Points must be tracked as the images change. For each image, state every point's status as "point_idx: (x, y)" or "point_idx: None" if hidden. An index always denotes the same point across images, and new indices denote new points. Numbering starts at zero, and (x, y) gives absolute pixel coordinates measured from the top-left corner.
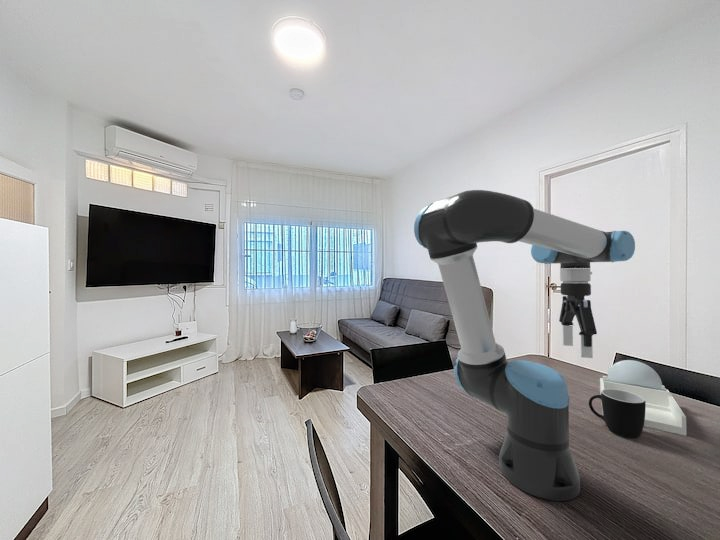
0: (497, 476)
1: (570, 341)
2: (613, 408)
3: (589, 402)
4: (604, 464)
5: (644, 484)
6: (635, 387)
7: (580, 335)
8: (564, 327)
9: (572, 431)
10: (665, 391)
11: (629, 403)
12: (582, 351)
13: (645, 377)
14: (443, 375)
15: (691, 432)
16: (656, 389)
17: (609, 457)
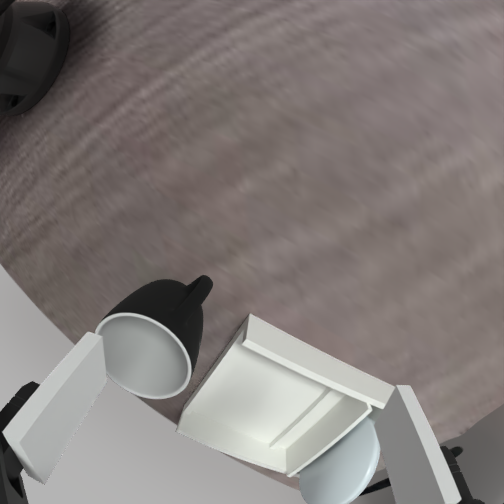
0: None
1: (386, 437)
2: (120, 303)
3: (200, 281)
4: (49, 183)
5: (20, 217)
6: (322, 447)
7: (16, 431)
8: (434, 498)
9: (155, 181)
10: (291, 475)
11: None
12: (69, 357)
13: (318, 481)
14: None
15: None
16: (304, 469)
17: (69, 206)
